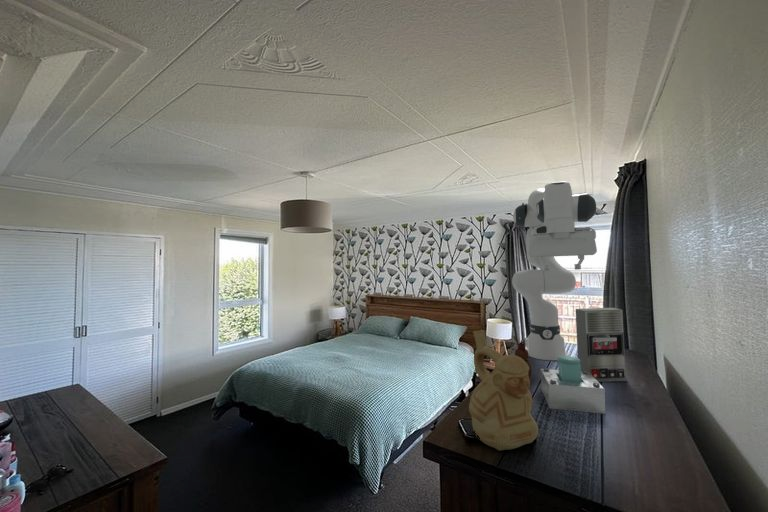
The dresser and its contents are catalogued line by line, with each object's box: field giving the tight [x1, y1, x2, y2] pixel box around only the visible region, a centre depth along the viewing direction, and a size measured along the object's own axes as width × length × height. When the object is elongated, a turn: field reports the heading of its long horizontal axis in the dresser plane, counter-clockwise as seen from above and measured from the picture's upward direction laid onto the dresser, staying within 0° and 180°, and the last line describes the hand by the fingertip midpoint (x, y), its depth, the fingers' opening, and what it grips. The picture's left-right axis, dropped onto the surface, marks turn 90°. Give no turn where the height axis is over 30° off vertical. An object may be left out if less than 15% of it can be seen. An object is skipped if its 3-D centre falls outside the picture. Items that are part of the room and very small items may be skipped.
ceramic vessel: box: [468, 329, 539, 452], centre depth 79 cm, size 17×20×25 cm
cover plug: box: [557, 355, 581, 382], centre depth 97 cm, size 6×6×13 cm
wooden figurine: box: [514, 339, 532, 380], centre depth 115 cm, size 7×6×15 cm
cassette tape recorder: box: [575, 307, 629, 383], centre depth 113 cm, size 14×6×25 cm, turn 90°
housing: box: [540, 367, 607, 415], centre depth 97 cm, size 14×14×8 cm
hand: (561, 269), depth 106 cm, fingers open, 8 cm apart
